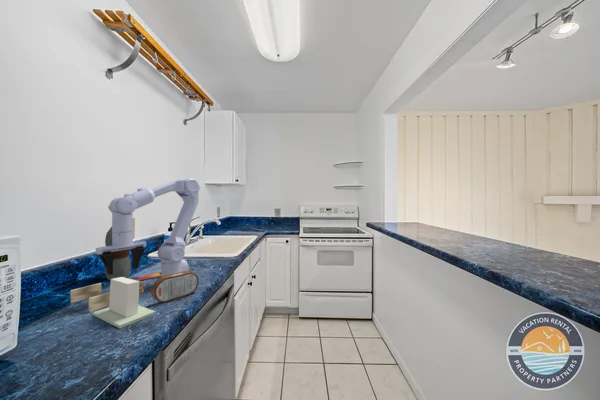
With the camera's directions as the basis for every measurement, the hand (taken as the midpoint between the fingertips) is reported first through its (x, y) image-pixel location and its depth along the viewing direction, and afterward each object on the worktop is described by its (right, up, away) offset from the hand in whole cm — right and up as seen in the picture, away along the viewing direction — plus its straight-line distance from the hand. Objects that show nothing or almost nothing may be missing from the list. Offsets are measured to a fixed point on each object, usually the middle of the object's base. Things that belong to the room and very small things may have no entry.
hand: (123, 271), depth 82 cm
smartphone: (-8, -10, +21) cm, 25 cm away
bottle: (-20, -10, +24) cm, 33 cm away
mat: (+10, -9, -13) cm, 18 cm away
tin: (+19, -9, 0) cm, 21 cm away
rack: (-7, -9, -3) cm, 12 cm away
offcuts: (-1, -10, +6) cm, 12 cm away
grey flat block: (+9, -8, -12) cm, 18 cm away
